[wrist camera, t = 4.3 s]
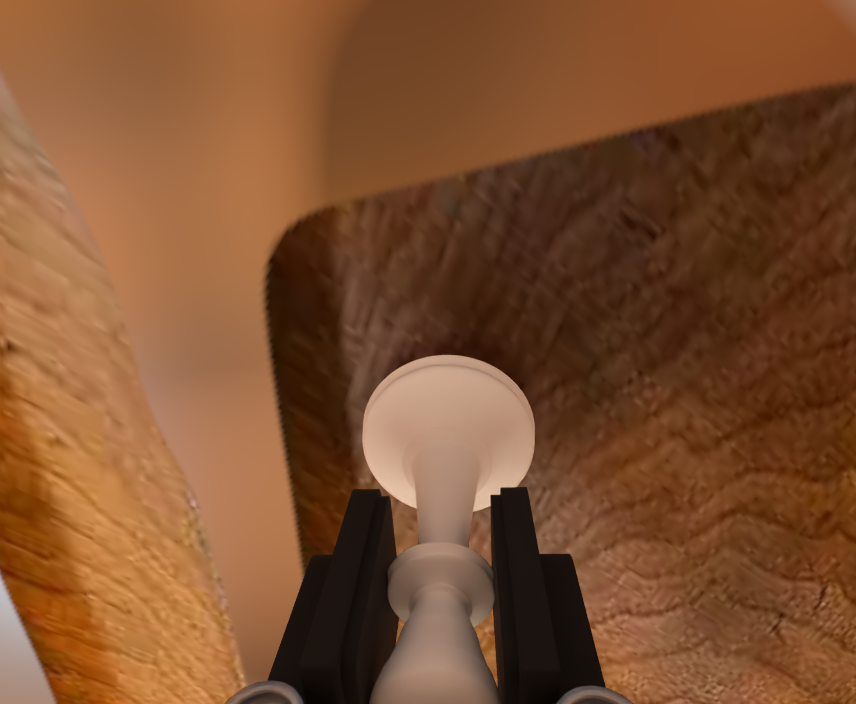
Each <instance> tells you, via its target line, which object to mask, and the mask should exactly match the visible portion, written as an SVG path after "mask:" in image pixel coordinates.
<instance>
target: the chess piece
mask: <svg viewBox="0 0 856 704" xmlns="http://www.w3.org/2000/svg"><path fill="white" fill-rule="evenodd" d="M362 442H363V450H364V455H365V458H366V461H367V464H368V466H369V468H370V470H371V472H372V474H373V475H374V477H375V478H376V479H377V481H378V482H379V483H380V484H381V486H382V487H383V488H384V489H385V490H386V491H388V492H389V493H390V494H391V495H392V496H394V497H395V498H397V499H398V500H400V501H402V502H403V503H405V504H407V505H409V506H411V507H414V508H416V509H417V522H418V545H416V546H414V547H411V548H409V549H407V550H405V551H404V552H403V553H401V554H400V555H399V556H398V557H397V558H396V559H395V560H394V561H393V562H392V564H391V565H390V567H389V569H388V590H387V592H388V600H389V603H390V605H391V607H392V609H393V611H394V612H395V613H396V615H397V616H398V617H399V618H400V619H401V620H403V621H404V622H405V625H404V627H403V629H402V631H401V633H400V636H399V639H398V641H397V644H396V646H395V648H394V650H393V652H392V654H391V656H390V658H389V659H388V661H387V662H386V663H385V665H384V666H383V668H382V670H381V672H380V675H379V677H378V679H377V681H376V683H375V685H374V688H373V690H372V693H371V697H370V701H369V704H502V701H501V697H500V694H499V691H498V688H497V686H496V683H495V680H494V678H493V675H492V673H491V671H490V669H489V667H488V666H487V664H486V661H485V659H484V656H483V654H482V651H481V648H480V645H479V640H478V637H477V634H476V632H475V630H474V628H473V627H475V626H477V625H478V624H480V623H481V622H482V621H483V620H484V619H485V618H486V617H487V616H488V615H489V613H490V612H491V610H492V608H493V605H494V601H495V591H494V571H493V569H492V567H491V566H490V564H489V563H488V562H487V561H486V560H485V559H484V558H483V557H482V556H481V555H479V554H478V553H477V552H475V551H473V550H471V549H469V548H468V547H469V536H470V529H471V523H472V515H473V512H474V511H478V510H481V509H484V508H486V507H489V506H491V503H490V495H500V488H501V487H517V486H518V485H519V483H520V482H521V481H522V479H523V478H524V476H525V475H526V473H527V471H528V469H529V467H530V464H531V461H532V458H533V453H534V445H535V424H534V417H533V413H532V410H531V407H530V405H529V403H528V400H527V399H526V397H525V395H524V394H523V392H522V391H521V389H520V388H519V387H518V386H517V384H516V383H515V382H514V381H513V380H512V379H511V378H509V377H508V376H507V375H506V374H504V373H503V372H502V371H500V370H499V369H497V368H495V367H494V366H492V365H490V364H487V363H485V362H483V361H480V360H477V359H474V358H470V357H465V356H458V355H437V356H430V357H425V358H421V359H418V360H415V361H412V362H410V363H407V364H405V365H403V366H401V367H400V368H398V369H397V370H395V371H394V372H392V373H391V374H390V375H388V376H387V377H386V378H385V379H384V380H383V381H382V382H381V383H380V384H379V385H378V387H377V388H376V389H375V391H374V392H373V394H372V396H371V398H370V400H369V402H368V404H367V407H366V410H365V414H364V420H363V434H362Z"/></svg>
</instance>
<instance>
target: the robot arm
mask: <svg viewBox="0 0 856 704" xmlns="http://www.w3.org/2000/svg"><path fill="white" fill-rule="evenodd" d="M490 503H491V554H492V569H493V571H494V591H495V601H494V605H493V616H494V632H495V648H496V663H497V679H498V691H499V694H500V697H501V701H502V704H633V703H632V702H631V701H630V700H628V699H627V698H626V697H624V696H623V695H621V694H619V693H617V692H615V691H613V690H611V689H608V688H606V687H605V683H604V679H603V675H602V671H601V667H600V663H599V660H598V656H597V652H596V648H595V644H594V640H593V636H592V632H591V629H590V625H589V621H588V617H587V613H586V609H585V605H584V601H583V598H582V594H581V590H580V586H579V582H578V578H577V574H576V570H575V566H574V563H573V560H572V557H571V555H570V554H539V550H538V545H537V539H536V534H535V528H534V523H533V517H532V512H531V506H530V501H529V495H528V490H527V487H501V488H500V495H490ZM396 558H397V555H396V546H395V537H394V528H393V519H392V510H391V501H390V497H389V496H381V492H380V490H379V489H354V490H353V491H352V494H351V497H350V500H349V503H348V507H347V510H346V513H345V516H344V520H343V523H342V526H341V530H340V533H339V536H338V539H337V543H336V546H335V549H334V553H333V555H314V556H313V557H312V558H311V560H310V562H309V565H308V567H307V570H306V573H305V576H304V579H303V582H302V584H301V587H300V590H299V593H298V596H297V599H296V601H295V604H294V607H293V610H292V613H291V616H290V619H289V621H288V624H287V627H286V630H285V632H284V635H283V638H282V641H281V644H280V647H279V650H278V652H277V655H276V658H275V661H274V663H273V666H272V669H271V672H270V675H269V678H268V681H263V682H257V683H255V684H253V685H250V686H248V687H245V688H243V689H241V690H240V691H239V692H237V693H236V694H235V695H233V696H232V697H231V698H229V699H228V700H227V701H226V703H225V704H369V701H370V697H371V693H372V690H373V688H374V685H375V683H376V681H377V679H378V677H379V675H380V672H381V670H382V668H383V666H384V665H385V663H386V662H387V661H388V659H389V658H390V656H391V654H392V652H393V650H394V648H395V644H396V636H397V629H398V621H399V617H398V616H397V615H396V613H395V612H394V611H393V609H392V607H391V605H390V603H389V600H388V592H387V590H388V569H389V567H390V565H391V564H392V562H393V561H394V560H395V559H396Z"/></svg>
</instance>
